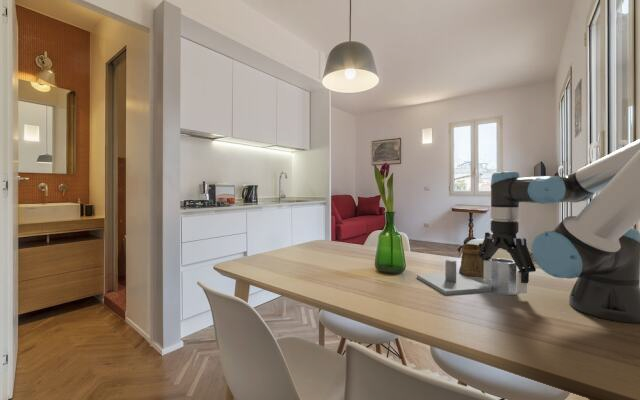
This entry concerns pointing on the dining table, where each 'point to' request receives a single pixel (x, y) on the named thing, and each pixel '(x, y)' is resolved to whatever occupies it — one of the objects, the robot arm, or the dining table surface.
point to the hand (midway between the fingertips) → (503, 285)
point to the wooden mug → (471, 260)
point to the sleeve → (504, 276)
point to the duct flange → (452, 281)
